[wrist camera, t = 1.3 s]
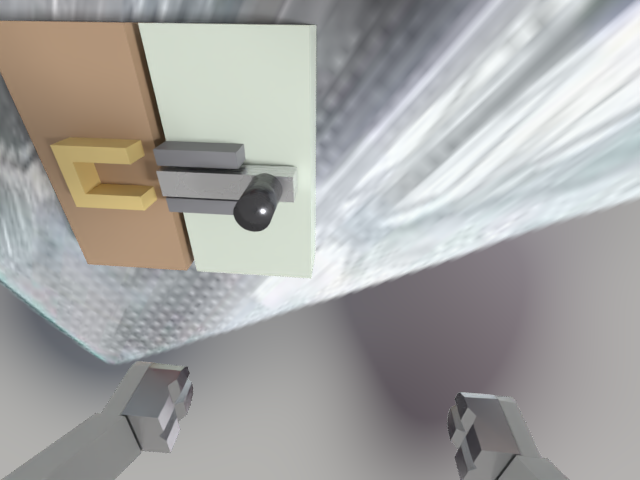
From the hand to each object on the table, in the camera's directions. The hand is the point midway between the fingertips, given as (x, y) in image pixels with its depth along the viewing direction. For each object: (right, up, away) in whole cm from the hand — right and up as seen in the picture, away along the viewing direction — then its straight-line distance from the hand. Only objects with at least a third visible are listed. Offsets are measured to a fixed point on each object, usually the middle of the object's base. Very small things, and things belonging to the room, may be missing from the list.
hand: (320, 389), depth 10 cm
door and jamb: (-12, +12, +20) cm, 26 cm away
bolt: (-7, +10, +16) cm, 20 cm away
